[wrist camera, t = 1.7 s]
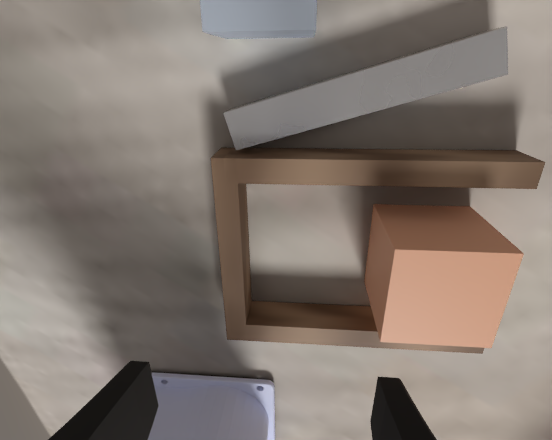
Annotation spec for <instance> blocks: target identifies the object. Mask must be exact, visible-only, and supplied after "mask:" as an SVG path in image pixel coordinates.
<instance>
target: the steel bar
mask: <svg viewBox="0 0 552 440" xmlns="http://www.w3.org/2000/svg"><path fill="white" fill-rule="evenodd" d="M504 75H508V46H507V27H502V28H496V29H491V30H487V31H484V32H481V33H477V34H474V35H471V36H468V37H464V38H461V39H458V40H454V41H451V42H448V43H445V44H441V45H438V46H435V47H432V48H428V49H425V50H422V51H418V52H415V53H412V54H409V55H405V56H402V57H399V58H396V59H392V60H389V61H386V62H382V63H379V64H376V65H373V66H369V67H366V68H363V69H360V70H356V71H353V72H350V73H346V74H343V75H340V76H337V77H333V78H330V79H327V80H324V81H320V82H317V83H314V84H310V85H307V86H304V87H301V88H297V89H294V90H291V91H288V92H284V93H281V94H278V95H274V96H271V97H268V98H265V99H261V100H258V101H255V102H252V103H248V104H245V105H242V106H238V107H235V108H232V109H229V110H227V111H226V112H224V113H223V114H224V117H225V120H226V123H227V126H228V129H229V132H230V135H231V137H232V140H233V143H234V146H235V149H236V150H240V149H243V148H247V147H250V146H254V145H258V144H261V143H265V142H268V141H272V140H275V139H279V138H283V137H286V136H290V135H293V134H297V133H300V132H304V131H308V130H311V129H315V128H318V127H322V126H325V125H329V124H333V123H336V122H340V121H343V120H347V119H351V118H354V117H358V116H361V115H365V114H368V113H372V112H376V111H379V110H383V109H386V108H390V107H393V106H397V105H401V104H404V103H408V102H411V101H415V100H418V99H422V98H426V97H429V96H433V95H436V94H440V93H444V92H447V91H451V90H454V89H458V88H461V87H465V86H469V85H472V84H476V83H479V82H483V81H486V80H490V79H494V78H497V77H501V76H504Z"/></svg>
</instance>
